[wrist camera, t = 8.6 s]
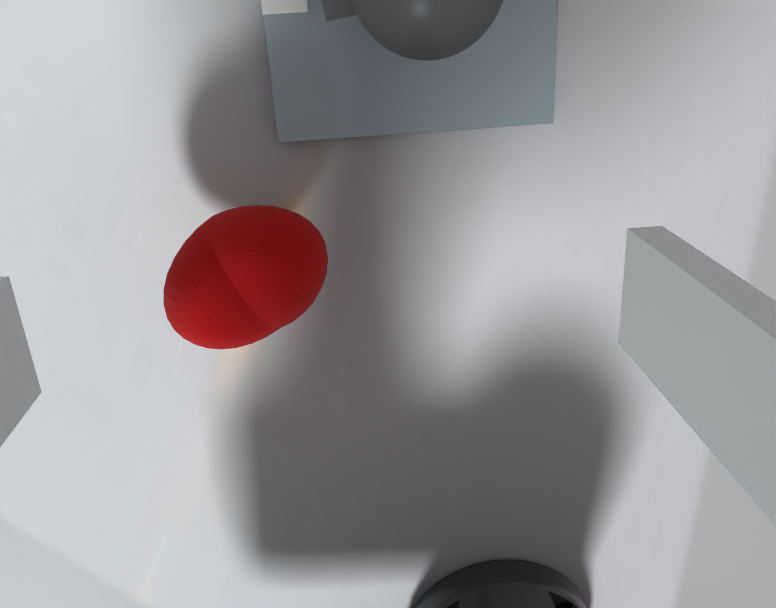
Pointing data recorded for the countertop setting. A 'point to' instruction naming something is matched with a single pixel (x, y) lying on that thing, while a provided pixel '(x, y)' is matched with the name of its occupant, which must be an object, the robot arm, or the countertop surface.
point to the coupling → (419, 23)
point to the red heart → (244, 276)
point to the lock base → (406, 75)
